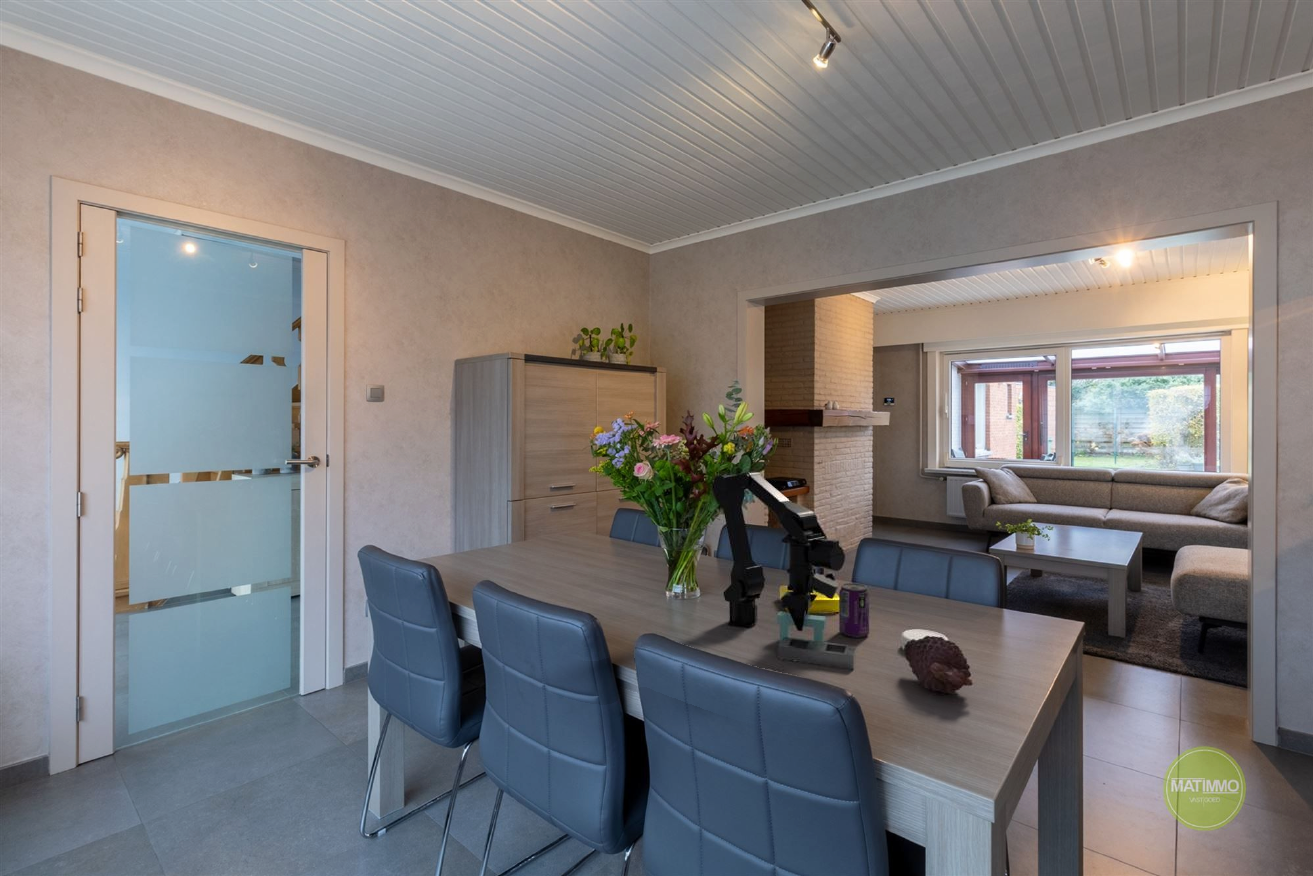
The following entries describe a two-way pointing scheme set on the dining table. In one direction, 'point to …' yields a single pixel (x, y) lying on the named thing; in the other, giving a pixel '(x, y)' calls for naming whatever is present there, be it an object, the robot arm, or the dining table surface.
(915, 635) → the coaster
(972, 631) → the dining table surface
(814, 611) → the element tile
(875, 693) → the dining table surface
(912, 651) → the pine cone
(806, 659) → the grey slotted base block
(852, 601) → the beverage can
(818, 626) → the clip
